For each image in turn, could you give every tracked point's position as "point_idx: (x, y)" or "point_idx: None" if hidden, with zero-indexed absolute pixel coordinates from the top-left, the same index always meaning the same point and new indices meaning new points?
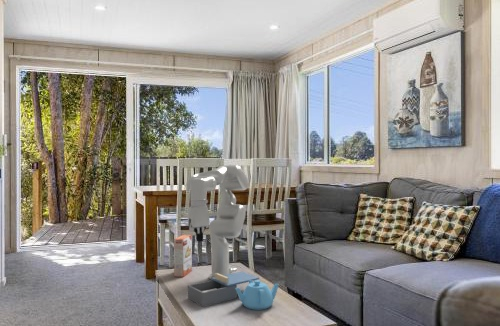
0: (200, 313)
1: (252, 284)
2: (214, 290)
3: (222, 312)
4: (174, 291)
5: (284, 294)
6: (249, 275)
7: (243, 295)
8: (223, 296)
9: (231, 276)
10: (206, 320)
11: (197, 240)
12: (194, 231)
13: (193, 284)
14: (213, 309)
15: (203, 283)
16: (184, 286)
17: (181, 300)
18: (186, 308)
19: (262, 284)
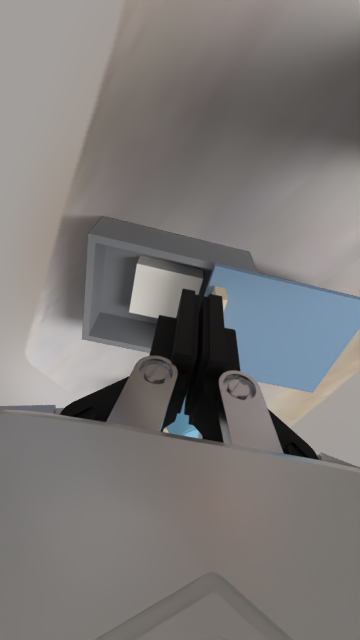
0: (61, 338)
1: None
2: (128, 348)
3: (108, 370)
4: (113, 70)
5: (310, 406)
6: (325, 358)
7: None
8: None
9: (279, 317)
10: (49, 372)
11: (179, 304)
12: (107, 390)
13: (117, 242)
14: (104, 344)
15: (164, 257)
16: (205, 36)
17: (72, 212)
18: (47, 285)
19: None
